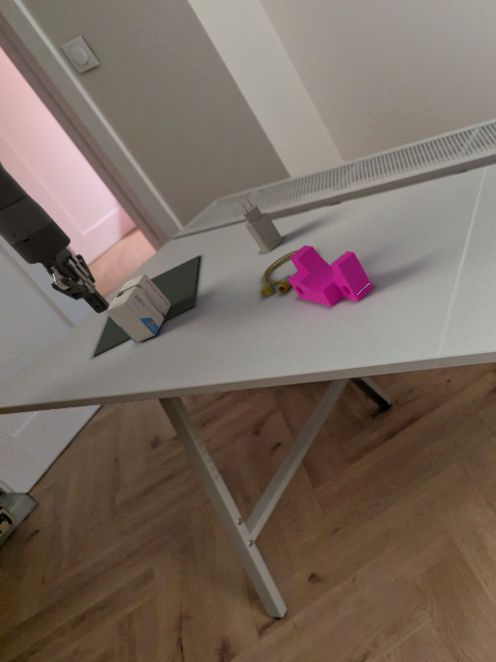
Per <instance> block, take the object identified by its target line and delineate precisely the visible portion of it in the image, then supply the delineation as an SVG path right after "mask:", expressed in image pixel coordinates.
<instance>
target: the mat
mask: <svg viewBox="0 0 496 662" xmlns="http://www.w3.org/2000/svg"><path fill="white" fill-rule="evenodd" d="M200 258H201V256H200V255H197V256H195V257H193V258H192V259H189V260H187V261H185V262H183V263H181V264H179V265H177V266H175V267H173V268H170V269H169V270H167V271H165V272H162V273H161V274H158V275H157V276H155V277H152V278H149V279H150V280H151V281H152V282H153V283H154V284H155V285H156V287H157V288H158V289H159V290H160V291H161V292H162V293H163V294H164V295H165V296H166V298H167V299H168V300H169V301H170V304H171V307H170V309H169V311H168V313H167V315H166V317H165V318H164V320H163V322H162V324H163V323H166V322H168V321H169V320H172V319H174V318H176V317H177V316H180V315H181V314H184V313H185V312H188V311H189V310H192V309H194V308H195V302H196V293H197V284H198V275H199V267H200ZM130 340H132V339H131V338H130V337H129V336H128V335H127V334H126V333H125V332H124V331H123V330H122V328H121V327H120V326H119V325H118V324H117V323H116V322H115V321H114V320H113V319H112V318H111V317H110V316H109V315H108V317H107V320H106V323H105V326H104V329H103V330H102V334H101V336H100V338H99V341H98V343H97V345H96V348H95V350H94V353H93V357H94V358H95V357H98V356H100V355H102V354H104V353H106V352H108V351H110V350H111V349H114V348H116V347H118V346H120V345H122V344H124V343H126V342H128V341H130Z"/></svg>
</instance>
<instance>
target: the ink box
mask: <svg viewBox="0 0 496 662" xmlns="http://www.w3.org/2000/svg"><path fill="white" fill-rule="evenodd" d="M150 279H151V278H150V277H149V276H148V275H147V274H145V273H144V274H142V275H138V276H137V277H134V278H132V279H130V280H128V281H126V282H125V283H124V285H123V286H122V287H121V289H120V290H119V291H118V293H117V294H116V295H115V297H114V298H113V300H112V301H111V303H109V307H108V309H107V310H106V311H105V313H106V314H107V315H108V317H109V316H110V317H111V318H112V319H113V320H114V321H115V322H116V323H117V324H118V325H119V326H120V327H121V328H122V330H123V331H124V332H125V333H126V334H127V335H128V336H129V337H130V338H131V339H130V340H132V341H133V343H136V344H137V343H139V342H142V341H145V340H147V339H149V338H152V337H155V336H156V335H157V333H158V332H159V330H160V328H161V326H162V324H163V323H162V322H163V320H164V318H165V317H166V315H167V313H168V311H169V309H170V307H171V304H170V301H169V300H168V299H167V298H166V296H165V295H164V294H163V293H162V292H161V291H160V290H159V289H158V288H157V287H156V285H155V284H154V283H153V282H152V281H151V280H150Z"/></svg>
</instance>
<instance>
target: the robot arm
mask: <svg viewBox="0 0 496 662" xmlns="http://www.w3.org/2000/svg"><path fill="white" fill-rule="evenodd" d="M0 236H1V238H3V240H4V241H5V242H6V243H7V244H8V245H9V246H10V247H11V248H12V249H13V250H14V251H15V252H16V254H18V255H19V256H20V258H22V259H23V260H24V261H25V262H26V263H27V264H29V265H35V264H41V265H42V266H43V268H44V269H45V271H46V272H47V274H48V275H49V276H50V277H51V278H52V279H54V282H51V283H50V285H51V288H52V289H54V290H55V291H57V292H59V293H61V294H63V295H64V296H67V297H68V298H70V299H72V300H74V301H78V300H80V299H81V300H84V301H85V302H86V303H87V304H88V305H89V306H90V308H91V309H92V310H93V311H94V312H95V313H97V314H101V313H104V312H106V310H107V309H108V307H109V305H110V303H109V302H108V300H106V299H105V297H104V296H103V295H101V294H100V292H99V291H98V290H97V286H96V284H95V283H96V282H97V281H96V279H95V277H94V275H93V273H92V271H91V269H90V268H89V266H88V264H87V262H86V259H84V257H83V255H81V254H80V253H79V254H77V255H75V254H73V253H72V251H70V250H69V249H68V248H67V247H68V246H69V245H70V244H71V238H70V237H69V236H68V235H67V233H66V232H65V231H64V230H63V229H62V228H61V227H60V225H58V224H57V222H56V221H55V220H54V219H53V218H52V217H51V215H50V214H49V213H48V212H47V211H46V210H45V209H44V208H43V207H42V205H40V203H38V202H37V201H36V200H35V199H34V198H33V197H31V196H30V194H28V192H27V190H25V189H24V188H23V187H22V185H20V183H19V182H18V181H17V180H16V179H15V178H14V177H13V176H12V175H11V174H10V173H9V172H8V171H7V169H6V168H5V166H4V165H3V164H2V161H0Z"/></svg>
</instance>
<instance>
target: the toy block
mask: <svg viewBox="0 0 496 662" xmlns="http://www.w3.org/2000/svg"><path fill="white" fill-rule="evenodd" d="M297 250H298V251H296V250H295V251H296V252H295V253H294V254H293V253H292V255H291V254H290V255H291V256H290V257H289V258H290V259H289V258H288V259H289V260H290V261H291V262H292V264H293V266H294V267H295V269H296V270H297V271H295V272H294V273H293V274H291V275H290V276H291V277H289V278H288V281H289V282H290V284H291V285H290V286H291V287H292V289H293V290H294V292H295V293H296V295H297V297H298V298H299V299H302V300H306V301H310V302H314V303H318V304H322V305H324V306H329V307H333V306H334V305H335V304H336V303H338V301H340V300H341V299H347V300H350V301H355V302H360V300H361V299H363V298H364V297H365V296H367V294H368V293H370V292H371V291H372V290H373V289H374V286H373V284H372V282H371V281H370V279H369V277H368V275H367V273H366V271H365V269H364V268H363V265H362V264H361V261H360V260H359V258H358V256H357V255H356V252H355V251H348V250H346V251H345V252H343V254H341V255H340V256H339V257H338V258H337V259H335V260H334V261H333V262H331V263H328V262H327V261H326V260H325V259H324V258H323V257H322V256H321V255H320V254H319V252H318V251H317V250H316V249H315V247H314V246H312V245H306V244H304V245H303V246H302V247H300V248H299V249H297ZM368 283H370V284H369V285H368V286H367V287H366V288H364V287H365V286H366V285H367V284H368ZM363 288H364V289H363ZM362 289H363V290H362ZM361 290H362V291H361ZM360 291H361V292H360ZM359 292H360V293H359ZM358 293H359V294H358ZM357 294H358V295H357Z"/></svg>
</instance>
